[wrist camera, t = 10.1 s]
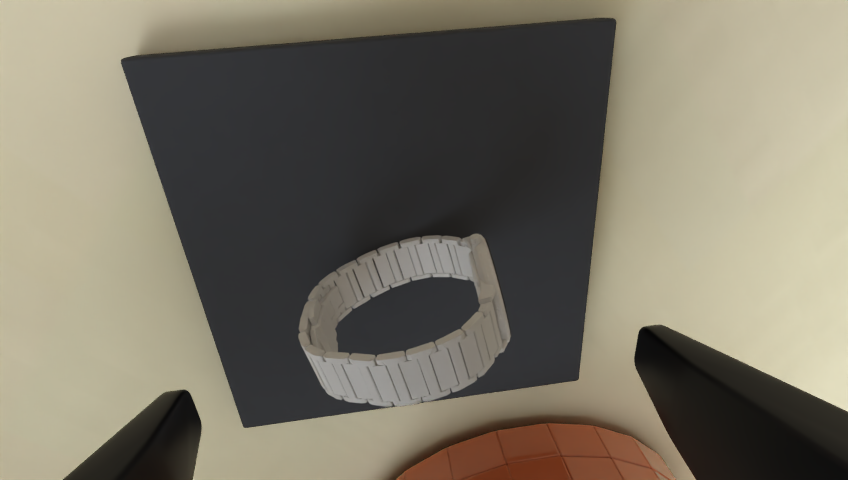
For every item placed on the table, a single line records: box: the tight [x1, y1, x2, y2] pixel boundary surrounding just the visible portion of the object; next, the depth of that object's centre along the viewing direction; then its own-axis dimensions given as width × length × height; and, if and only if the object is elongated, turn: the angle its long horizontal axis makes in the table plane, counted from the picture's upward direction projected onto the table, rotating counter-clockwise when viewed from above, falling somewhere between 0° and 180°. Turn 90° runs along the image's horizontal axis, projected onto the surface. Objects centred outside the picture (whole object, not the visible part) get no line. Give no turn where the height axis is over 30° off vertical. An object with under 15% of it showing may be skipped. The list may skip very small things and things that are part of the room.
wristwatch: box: [298, 234, 512, 407], centre depth 12 cm, size 3×5×5 cm, turn 105°
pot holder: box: [121, 18, 616, 428], centre depth 14 cm, size 12×12×1 cm
